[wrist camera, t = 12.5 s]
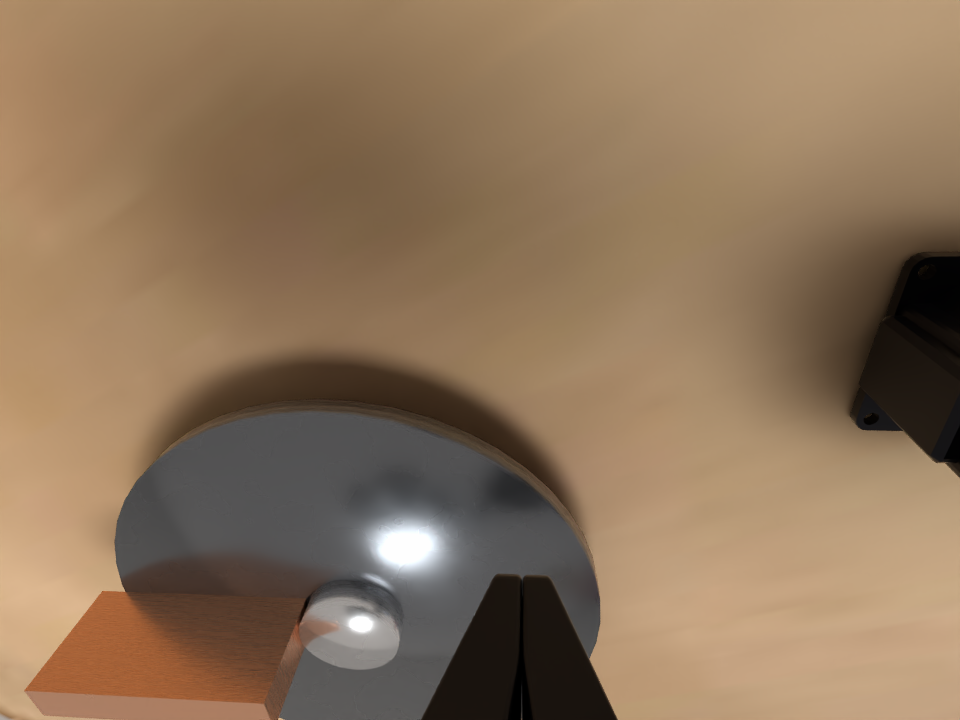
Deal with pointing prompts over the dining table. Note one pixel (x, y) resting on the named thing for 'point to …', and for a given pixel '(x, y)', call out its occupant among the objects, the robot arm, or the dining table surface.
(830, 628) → the dining table surface
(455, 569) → the grey disc with hub
